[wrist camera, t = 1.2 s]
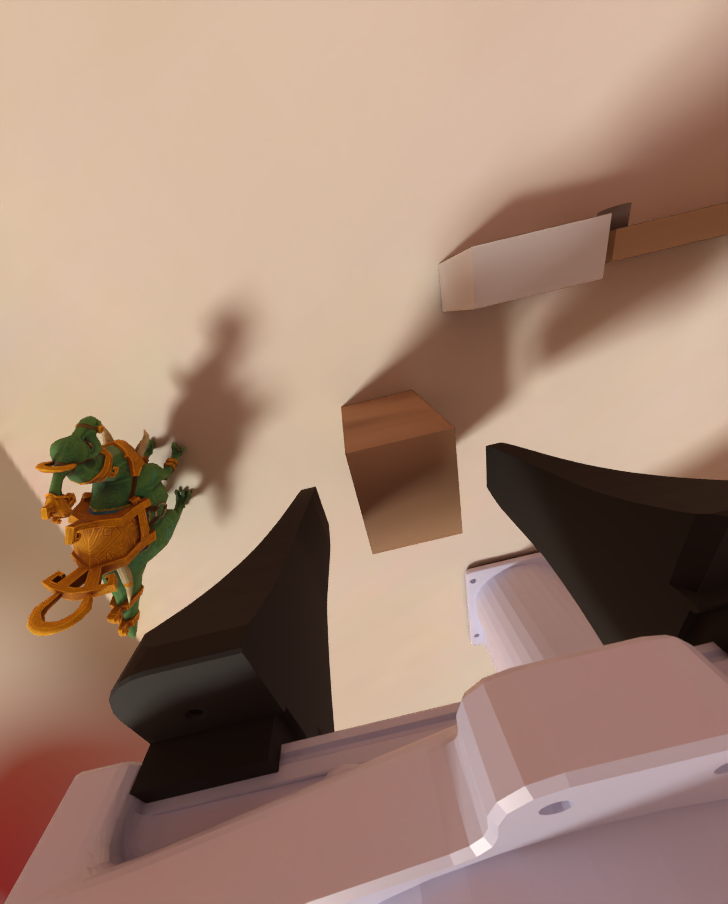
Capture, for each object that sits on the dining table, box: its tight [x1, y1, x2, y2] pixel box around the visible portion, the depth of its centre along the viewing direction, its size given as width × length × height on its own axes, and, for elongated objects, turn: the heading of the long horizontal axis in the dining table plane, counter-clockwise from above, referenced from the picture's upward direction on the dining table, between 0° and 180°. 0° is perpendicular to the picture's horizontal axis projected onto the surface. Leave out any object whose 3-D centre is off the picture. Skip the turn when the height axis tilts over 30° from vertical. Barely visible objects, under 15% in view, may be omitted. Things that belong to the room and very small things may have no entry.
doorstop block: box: [341, 390, 462, 554], centre depth 14 cm, size 5×4×6 cm
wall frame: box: [439, 213, 612, 312], centre depth 12 cm, size 2×20×4 cm, turn 102°
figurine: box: [27, 416, 192, 639], centre depth 13 cm, size 3×12×8 cm, turn 170°
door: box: [597, 203, 728, 263], centre depth 12 cm, size 2×9×3 cm, turn 102°
